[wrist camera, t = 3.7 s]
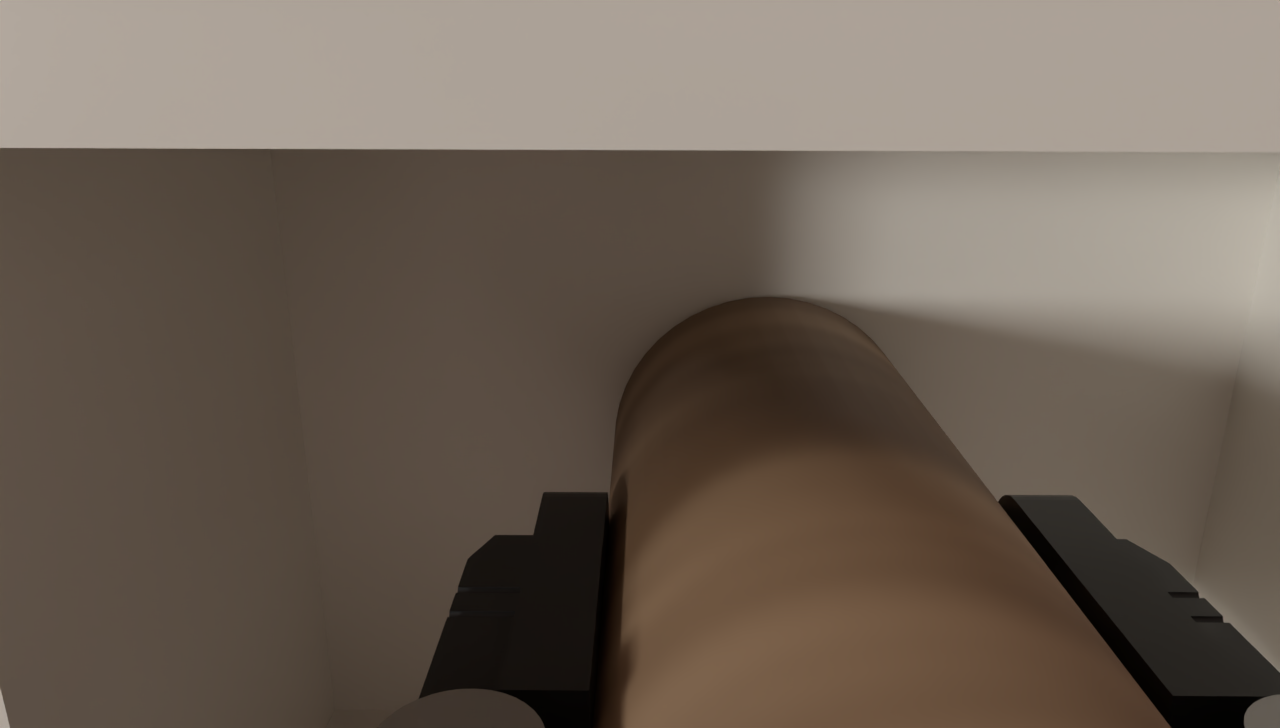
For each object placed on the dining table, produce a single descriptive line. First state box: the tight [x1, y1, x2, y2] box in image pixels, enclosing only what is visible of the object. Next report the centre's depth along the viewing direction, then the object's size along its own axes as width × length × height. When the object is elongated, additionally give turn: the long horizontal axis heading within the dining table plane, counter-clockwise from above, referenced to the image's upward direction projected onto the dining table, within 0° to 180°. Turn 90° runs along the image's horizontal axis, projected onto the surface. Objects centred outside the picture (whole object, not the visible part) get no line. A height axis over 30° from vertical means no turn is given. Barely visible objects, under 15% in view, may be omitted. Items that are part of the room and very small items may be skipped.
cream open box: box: [0, 0, 1280, 728], centre depth 12 cm, size 12×16×8 cm
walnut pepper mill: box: [593, 297, 1171, 728], centre depth 9 cm, size 4×4×11 cm
